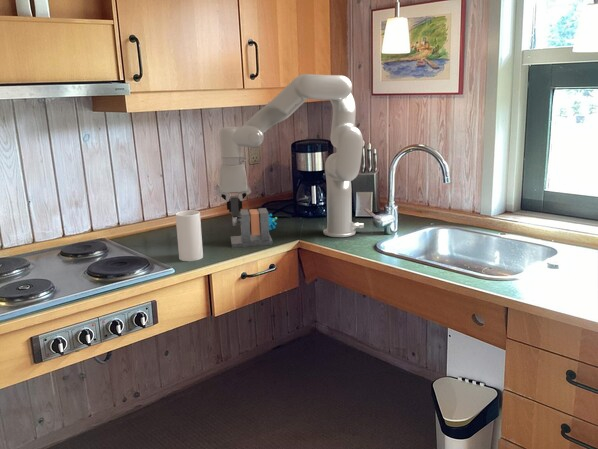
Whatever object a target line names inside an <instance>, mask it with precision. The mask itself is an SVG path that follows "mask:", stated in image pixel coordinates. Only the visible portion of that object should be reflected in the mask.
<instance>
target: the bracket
mask: <svg viewBox="0 0 598 449" xmlns="http://www.w3.org/2000/svg"><path fill="white" fill-rule="evenodd" d="M257 210H258V213H259V215H260V223H259V228H260V235H251V231H250V218H249V209H247V208H245V209H243V208H242V209H241V212H239V216H241V224H240V235H233V236H230V244H231V248H232V249H236V248H248V247H263V246H273V242H274V241H273V239H272V237H271V234H270V231H269V215H270V213H269V211H268V209H267V207H260V208H257Z"/></svg>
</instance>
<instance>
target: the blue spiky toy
mask: <svg viewBox="0 0 598 449" xmlns="http://www.w3.org/2000/svg"><path fill="white" fill-rule="evenodd" d="M277 220H278V217H277V216H275V217H273V214H272V213H269V232H271V231H272V230H275V229H276V226H277V224H278V223H277V222H276V221H277Z"/></svg>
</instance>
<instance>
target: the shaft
mask: <svg viewBox="0 0 598 449" xmlns="http://www.w3.org/2000/svg"><path fill="white" fill-rule="evenodd" d="M238 198H239V195H229V199H230V202H231V212H230V215H231V217H232V227H237V226H239V225H241V216H240V212H239V207H238ZM249 218H250V223H251V217H250V216H249ZM259 223H260V215H259Z"/></svg>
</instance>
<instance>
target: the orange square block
mask: <svg viewBox="0 0 598 449" xmlns="http://www.w3.org/2000/svg"><path fill="white" fill-rule="evenodd" d="M248 212H249V216H250V217H251V223H250V235H260V228H259V213H258V208H251V209H248Z"/></svg>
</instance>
